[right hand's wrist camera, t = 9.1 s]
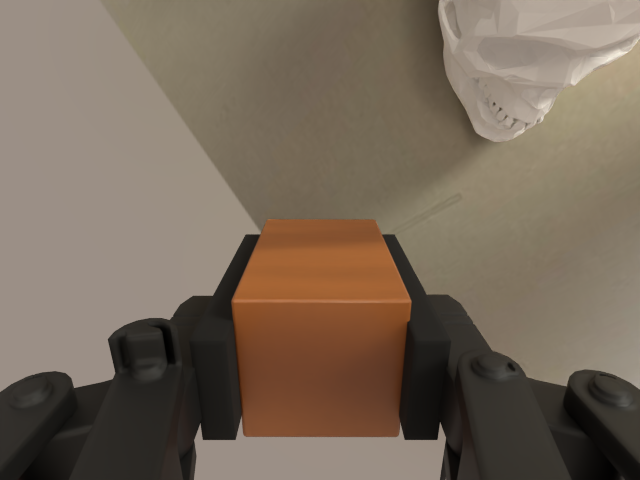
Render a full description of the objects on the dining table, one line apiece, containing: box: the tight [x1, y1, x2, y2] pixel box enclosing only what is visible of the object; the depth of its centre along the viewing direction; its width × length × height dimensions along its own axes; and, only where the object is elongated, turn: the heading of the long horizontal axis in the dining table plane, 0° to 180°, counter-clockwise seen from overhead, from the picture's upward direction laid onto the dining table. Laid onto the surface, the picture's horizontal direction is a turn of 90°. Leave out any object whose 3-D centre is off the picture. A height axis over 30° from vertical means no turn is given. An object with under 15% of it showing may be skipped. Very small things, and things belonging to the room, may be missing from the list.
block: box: [231, 219, 412, 437], centre depth 12 cm, size 4×4×6 cm
